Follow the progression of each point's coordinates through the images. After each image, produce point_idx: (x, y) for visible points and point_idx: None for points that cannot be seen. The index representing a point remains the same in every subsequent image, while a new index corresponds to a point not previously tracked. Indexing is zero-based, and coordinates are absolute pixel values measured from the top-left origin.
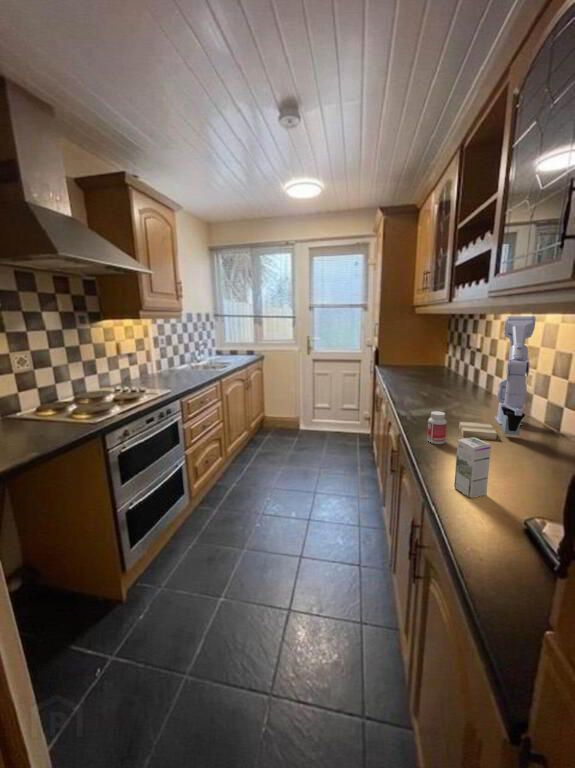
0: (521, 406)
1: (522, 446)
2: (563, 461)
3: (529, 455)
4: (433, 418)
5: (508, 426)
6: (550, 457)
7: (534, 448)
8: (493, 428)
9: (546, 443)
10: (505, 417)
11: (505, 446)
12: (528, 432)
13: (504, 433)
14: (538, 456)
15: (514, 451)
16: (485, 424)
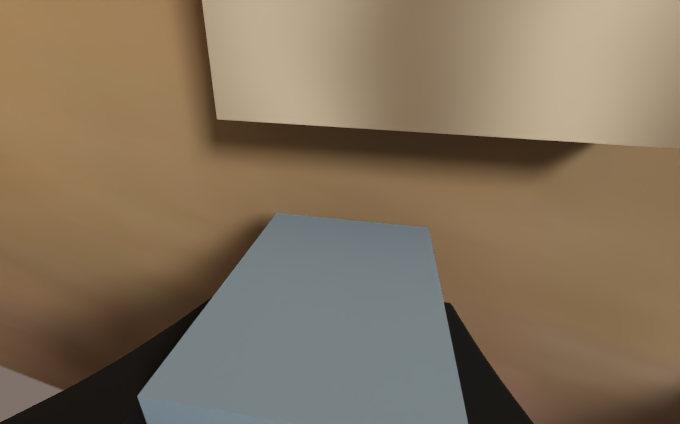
0: None
1: (170, 269)
2: (38, 368)
3: (14, 249)
4: None
5: None
6: (57, 340)
7: (166, 323)
8: (430, 129)
9: None
10: (233, 412)
11: (104, 142)
12: None
13: (286, 215)
14: (32, 291)
15: (28, 178)
16: (668, 45)
